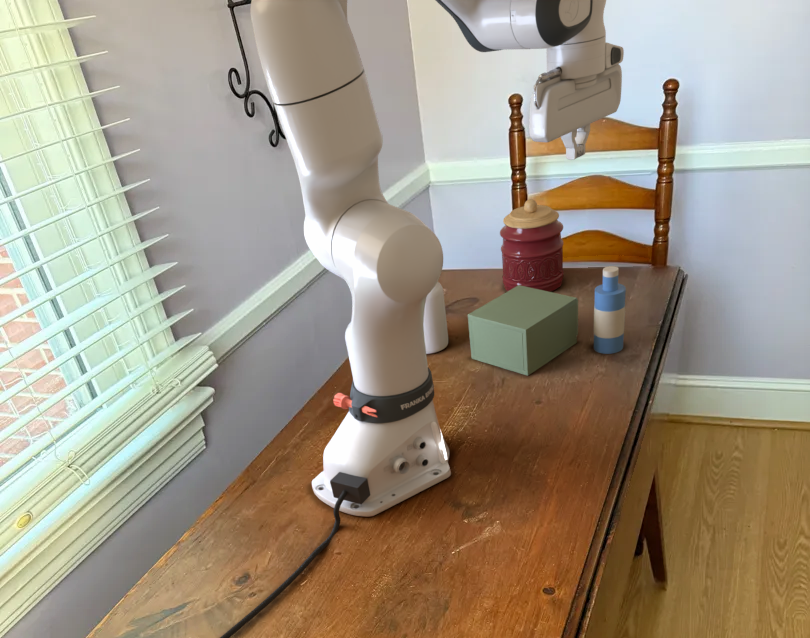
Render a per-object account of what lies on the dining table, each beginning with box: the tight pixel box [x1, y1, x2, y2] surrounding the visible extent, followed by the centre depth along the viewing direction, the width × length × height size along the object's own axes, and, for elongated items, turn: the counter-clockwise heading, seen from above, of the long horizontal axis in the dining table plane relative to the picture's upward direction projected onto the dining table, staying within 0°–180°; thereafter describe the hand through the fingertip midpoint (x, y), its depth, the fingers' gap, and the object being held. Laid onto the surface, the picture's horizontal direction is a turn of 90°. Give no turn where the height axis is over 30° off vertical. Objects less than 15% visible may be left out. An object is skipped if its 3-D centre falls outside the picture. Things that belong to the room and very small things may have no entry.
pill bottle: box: [423, 281, 449, 355], centre depth 148 cm, size 8×8×15 cm
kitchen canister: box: [499, 198, 565, 292], centre depth 164 cm, size 13×13×18 cm
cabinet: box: [467, 285, 578, 377], centre depth 143 cm, size 15×13×9 cm
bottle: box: [593, 265, 627, 355], centre depth 138 cm, size 5×5×14 cm
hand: (575, 157), depth 129 cm, fingers closed
